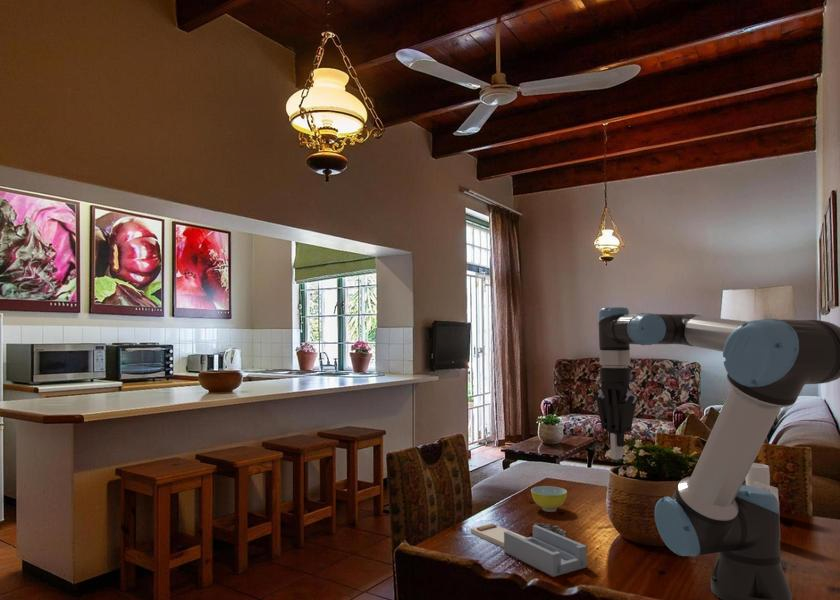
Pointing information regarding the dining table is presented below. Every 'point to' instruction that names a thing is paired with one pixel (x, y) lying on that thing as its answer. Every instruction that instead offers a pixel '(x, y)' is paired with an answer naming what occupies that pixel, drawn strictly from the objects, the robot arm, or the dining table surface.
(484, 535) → the lid
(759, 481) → the drinking glass
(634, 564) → the dining table surface
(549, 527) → the egg carton
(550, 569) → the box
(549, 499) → the bowl
